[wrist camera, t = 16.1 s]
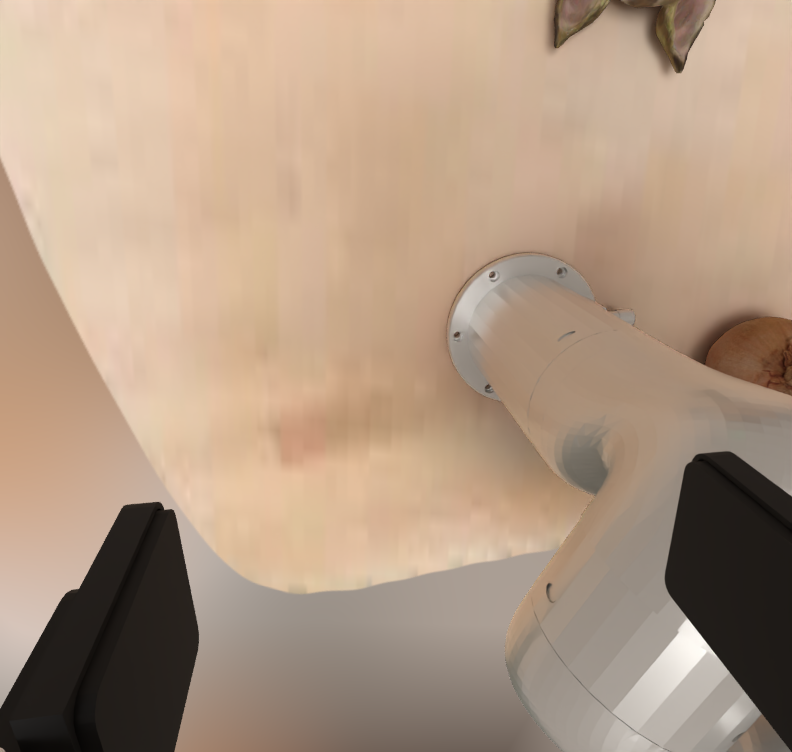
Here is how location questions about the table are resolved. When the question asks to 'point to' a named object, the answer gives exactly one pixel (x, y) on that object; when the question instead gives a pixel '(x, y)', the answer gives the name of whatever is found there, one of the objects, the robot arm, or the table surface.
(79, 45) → the table surface
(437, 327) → the table surface
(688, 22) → the ceramic sculpture
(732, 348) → the onion
